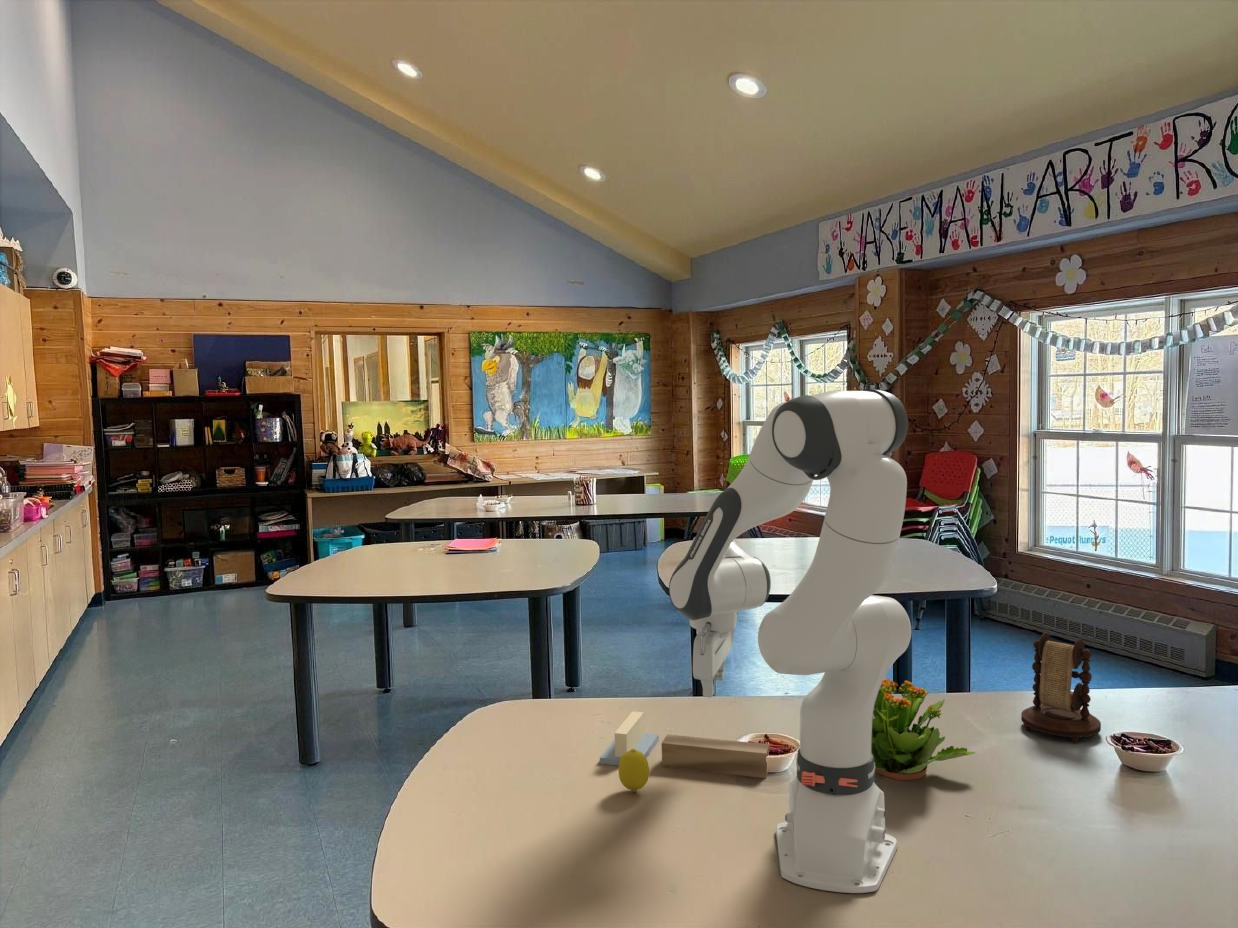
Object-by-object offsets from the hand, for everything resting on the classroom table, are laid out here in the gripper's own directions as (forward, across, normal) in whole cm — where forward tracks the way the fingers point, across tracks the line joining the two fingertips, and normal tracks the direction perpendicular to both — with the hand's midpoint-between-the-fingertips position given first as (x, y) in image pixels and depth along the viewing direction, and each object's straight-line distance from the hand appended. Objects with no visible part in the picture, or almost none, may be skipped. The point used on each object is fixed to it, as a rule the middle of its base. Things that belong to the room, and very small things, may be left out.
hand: (713, 687), depth 171 cm
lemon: (+16, -14, +12) cm, 24 cm away
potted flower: (+15, +7, -34) cm, 38 cm away
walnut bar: (+16, 0, 0) cm, 16 cm away
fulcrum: (+16, +3, +18) cm, 24 cm away
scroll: (+16, +36, -65) cm, 76 cm away
